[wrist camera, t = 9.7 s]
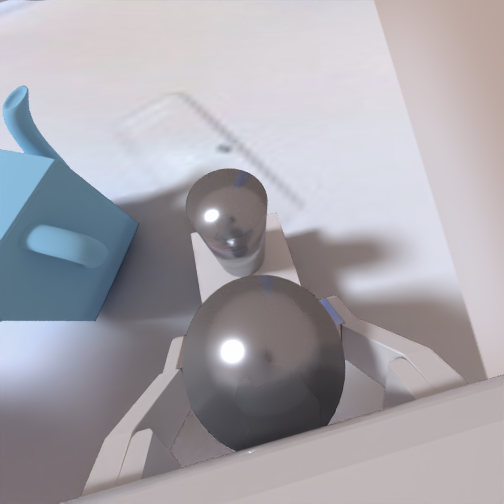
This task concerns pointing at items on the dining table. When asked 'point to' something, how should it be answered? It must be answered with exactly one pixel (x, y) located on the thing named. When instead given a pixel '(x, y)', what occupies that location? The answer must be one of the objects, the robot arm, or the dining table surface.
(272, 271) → the scale
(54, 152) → the teakettle
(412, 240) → the dining table surface
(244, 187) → the cylinder
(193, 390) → the ball
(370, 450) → the robot arm
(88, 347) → the dining table surface
